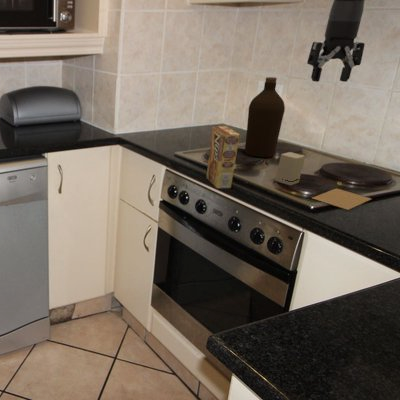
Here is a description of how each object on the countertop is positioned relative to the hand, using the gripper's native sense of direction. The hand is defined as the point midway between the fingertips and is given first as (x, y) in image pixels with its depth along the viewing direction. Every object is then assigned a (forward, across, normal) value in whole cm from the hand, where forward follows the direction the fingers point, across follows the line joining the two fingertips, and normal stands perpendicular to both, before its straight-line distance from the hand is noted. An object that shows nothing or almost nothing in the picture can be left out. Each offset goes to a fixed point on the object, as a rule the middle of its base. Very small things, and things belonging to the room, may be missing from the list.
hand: (329, 81), depth 133 cm
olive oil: (+27, -4, +19) cm, 33 cm away
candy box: (+27, -32, -6) cm, 42 cm away
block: (+27, -11, -7) cm, 30 cm away
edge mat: (+27, -4, -20) cm, 34 cm away
